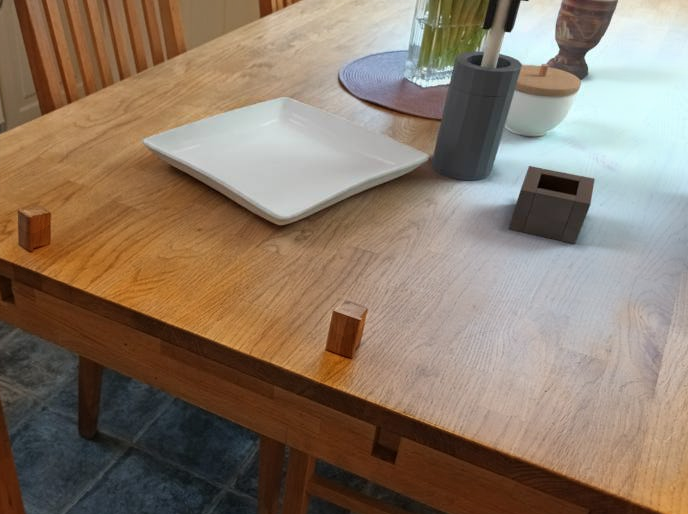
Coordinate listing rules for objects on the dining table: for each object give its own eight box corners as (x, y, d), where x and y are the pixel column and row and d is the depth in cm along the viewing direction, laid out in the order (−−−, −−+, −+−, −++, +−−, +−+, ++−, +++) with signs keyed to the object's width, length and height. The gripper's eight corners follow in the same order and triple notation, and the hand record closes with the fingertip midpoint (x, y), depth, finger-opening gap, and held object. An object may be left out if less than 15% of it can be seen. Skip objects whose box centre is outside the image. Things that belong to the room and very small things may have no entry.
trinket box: (488, 137, 106) (506, 71, 100) (489, 112, 114) (505, 50, 108) (566, 147, 104) (589, 80, 98) (560, 120, 112) (581, 58, 106)
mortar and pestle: (546, 58, 136) (583, -62, 124) (595, 66, 133) (638, -57, 121) (537, 75, 128) (576, -51, 116) (589, 84, 125) (634, -45, 113)
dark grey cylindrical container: (495, 163, 99) (525, 57, 90) (485, 185, 93) (516, 75, 85) (438, 151, 101) (462, 48, 93) (425, 172, 96) (450, 64, 87)
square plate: (138, 164, 96) (137, 136, 94) (283, 118, 110) (285, 92, 108) (279, 245, 81) (282, 214, 78) (428, 179, 94) (435, 151, 92)
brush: (484, 134, 95) (535, -54, 81) (480, 143, 93) (531, -50, 79) (460, 130, 96) (506, -57, 82) (455, 138, 94) (501, -53, 80)
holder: (580, 216, 87) (595, 178, 84) (575, 244, 82) (590, 204, 79) (517, 203, 90) (529, 165, 86) (508, 229, 84) (520, 189, 81)
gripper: (479, -227, 71) (429, 27, 86) (643, -224, 66) (560, 44, 81) (491, -226, 76) (442, 13, 91) (645, -224, 71) (566, 29, 86)
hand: (498, 27), depth 86 cm, fingers closed on brush, 2 cm apart
